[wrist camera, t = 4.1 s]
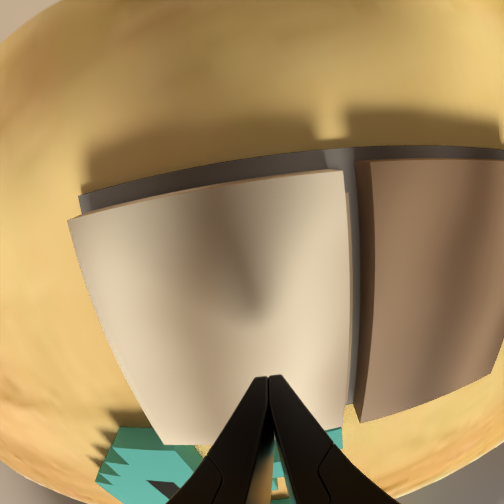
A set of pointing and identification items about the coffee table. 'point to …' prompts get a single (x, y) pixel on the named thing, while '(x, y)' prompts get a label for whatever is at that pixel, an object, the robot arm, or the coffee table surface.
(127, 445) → the alien figure
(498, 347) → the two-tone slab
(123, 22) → the coffee table surface
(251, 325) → the beige rectangular slab
